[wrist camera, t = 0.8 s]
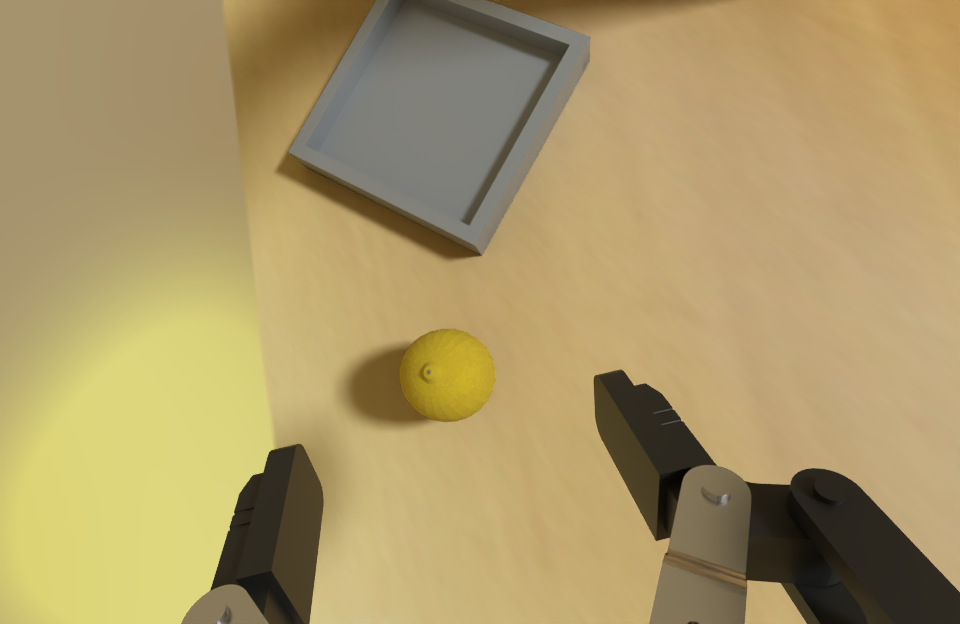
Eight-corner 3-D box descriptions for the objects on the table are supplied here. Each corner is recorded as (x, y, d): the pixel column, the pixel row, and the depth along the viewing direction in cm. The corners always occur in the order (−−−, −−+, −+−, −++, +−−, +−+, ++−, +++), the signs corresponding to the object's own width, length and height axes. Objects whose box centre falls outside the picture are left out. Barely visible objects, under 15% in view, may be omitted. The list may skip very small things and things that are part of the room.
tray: (406, -7, 40) (395, -33, 37) (589, 61, 36) (590, 37, 33) (306, 167, 39) (287, 152, 37) (482, 255, 35) (474, 245, 33)
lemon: (478, 321, 34) (449, 300, 27) (518, 392, 33) (500, 392, 25) (410, 362, 35) (362, 353, 27) (447, 433, 34) (408, 446, 26)
